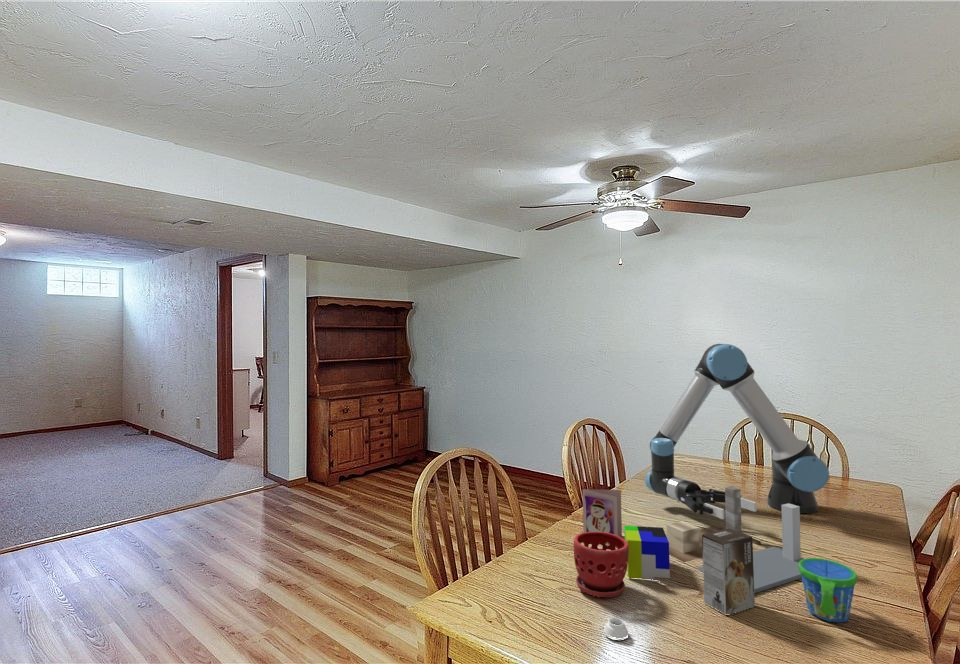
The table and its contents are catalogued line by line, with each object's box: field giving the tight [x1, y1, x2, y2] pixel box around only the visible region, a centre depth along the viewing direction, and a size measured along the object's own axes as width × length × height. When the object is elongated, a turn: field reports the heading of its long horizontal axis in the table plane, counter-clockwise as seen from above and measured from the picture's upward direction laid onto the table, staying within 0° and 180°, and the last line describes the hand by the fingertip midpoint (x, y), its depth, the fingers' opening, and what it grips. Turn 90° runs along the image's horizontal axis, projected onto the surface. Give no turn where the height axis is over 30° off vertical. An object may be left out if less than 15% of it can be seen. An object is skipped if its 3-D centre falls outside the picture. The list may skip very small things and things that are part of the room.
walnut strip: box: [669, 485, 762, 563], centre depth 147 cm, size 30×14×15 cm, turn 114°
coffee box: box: [702, 528, 756, 615], centre depth 115 cm, size 9×6×16 cm
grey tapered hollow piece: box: [603, 617, 629, 638], centre depth 104 cm, size 5×3×5 cm
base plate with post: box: [695, 503, 805, 594], centre depth 131 cm, size 30×14×15 cm, turn 114°
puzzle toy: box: [624, 525, 671, 580], centre depth 132 cm, size 10×10×10 cm
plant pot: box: [573, 532, 629, 598], centre depth 124 cm, size 13×13×12 cm
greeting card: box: [582, 488, 623, 537], centre depth 152 cm, size 11×7×15 cm, turn 47°
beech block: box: [666, 520, 700, 553], centre depth 144 cm, size 6×6×6 cm
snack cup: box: [799, 557, 858, 623], centre depth 110 cm, size 16×10×10 cm
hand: (739, 510), depth 150 cm, fingers open, 13 cm apart
